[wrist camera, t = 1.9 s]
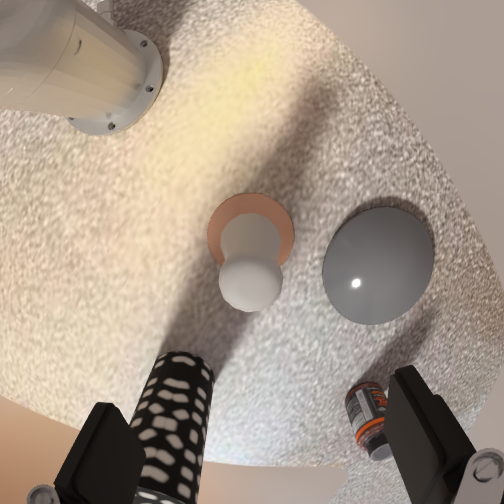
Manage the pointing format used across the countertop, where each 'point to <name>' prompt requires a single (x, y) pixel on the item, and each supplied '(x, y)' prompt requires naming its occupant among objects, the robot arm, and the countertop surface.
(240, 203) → the terracotta spot
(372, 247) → the slate plate
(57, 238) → the countertop surface
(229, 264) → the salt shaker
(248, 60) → the countertop surface
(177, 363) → the spotted tube
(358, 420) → the supplement bottle
